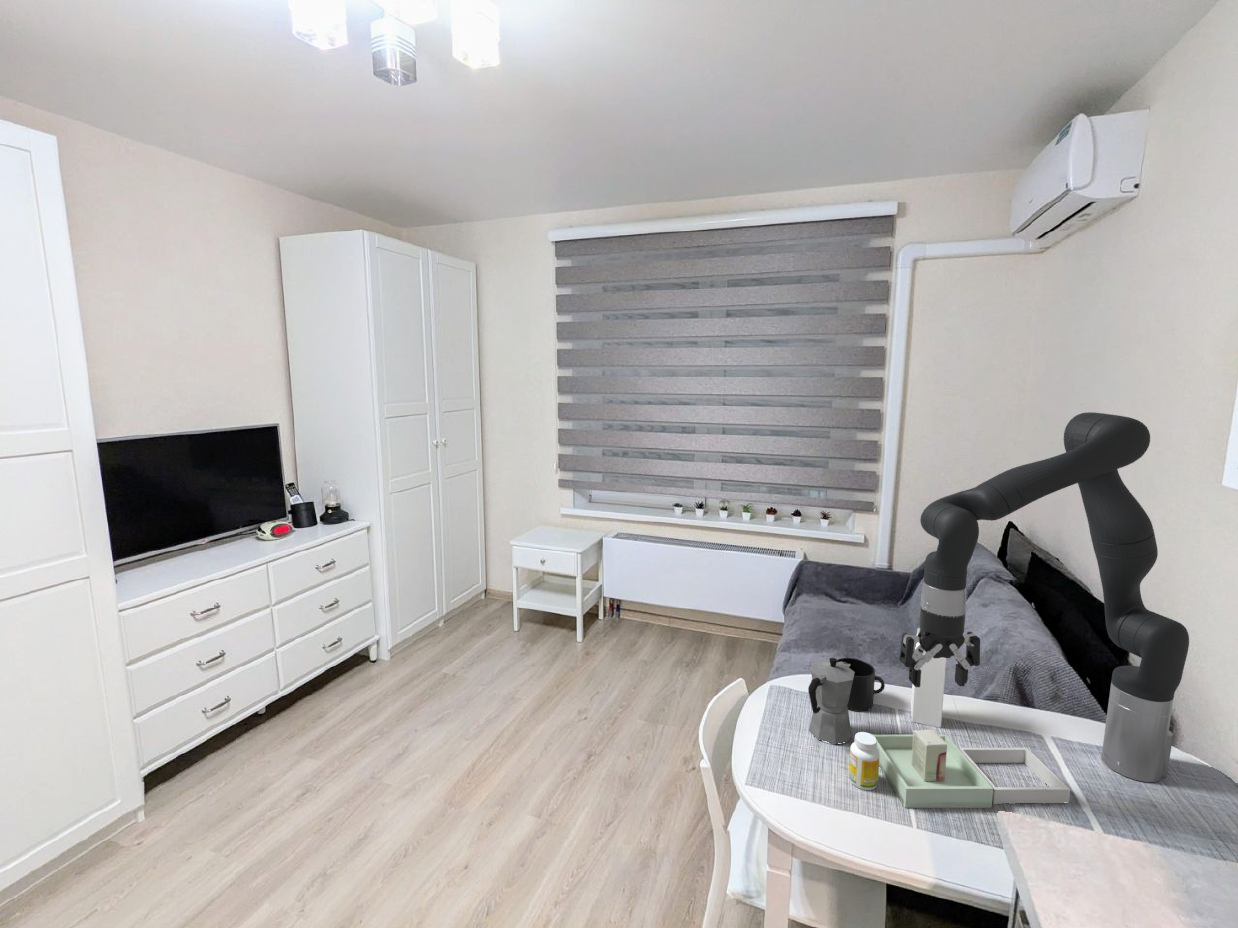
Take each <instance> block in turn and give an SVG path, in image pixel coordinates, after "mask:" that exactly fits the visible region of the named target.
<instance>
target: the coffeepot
mask: <svg viewBox="0 0 1238 928" xmlns="http://www.w3.org/2000/svg"><path fill="white" fill-rule="evenodd" d="M837 660H838V659H837V658H835V657H830V658H829V660H822V661H818V662H814V663H813V664H812V666H811V669H810V672H811V681H810V683H809V685H808V689H807V690H808V694H809V695H808V696H809V701H810V706H811V710H812V716H811V719H810V724H809V728H808V731H809V732H810V734H811V733H812V734H813V735H814V736H815V737H816V739H817V738H818V739H820V740H823V741H827V742H829V743H833V744H832V745H834V744H838V743H843V742H846V743H847V741H848V742H850V739H851V733H852V728H851V722H850V714H849V709H848V707H847V704H848V701H849V696H850V692H851V687H852V683H853V678H854V673H855V672H854V671H853V670H851V669H850V668H849V667H850V665H851V664H848V663H846V662H837ZM836 662H837V663H836ZM812 734H811V735H812ZM813 735H812V736H813ZM814 736H813V737H814ZM815 737H814V738H815ZM818 739H817V740H818ZM820 740H819V741H820Z"/></svg>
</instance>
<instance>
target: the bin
mask: <svg viewBox="0 0 1238 928" xmlns="http://www.w3.org/2000/svg"><path fill="white" fill-rule="evenodd" d="M872 735H873V736H874V737H875V738H876V739H877V749H878V750H879V753H880V758H879V767H880V768H881V769H880V768H879V769H880V771H881V770H882V771H881V772H882V774H883V773H884V774H883V776H884V777H885V779H886V780H887V782H888V783H889V785H890V786H891V789H892V790H893V791H894V793H895V794H896V796H897V798H898V800H899V801H900V802H901V804H902V805H903V808H904V809H991V808H992V805H993V803H992V797H993V788H992V787H991V785H990V784H989V783H988V782H987V781H986V780H985V779H984V777H983V776H982V775H981V774H980V773H979V772H978V771H977V769H976V768H975V767H974V766H973V765H972V764H971V763H970V761H969V760H968V759H967V758H966V757H965V756H964V755H963V753H962V752H961V751H960V750H959V749H958V748H959V747H957V745H956V744H955V743H954V742H953V741H952V739H950V738H949V737H950V736H948V735H947V734H938V735H939V736H940V737H941V738H942V739H943V740H944V741H945V743H946V744H947V753H946V768H945V780H938V781H924V780H923V779H922V778H921V776H920V775H919V774H918V773H917V771H916V770H915V769H914V768H913V766H912V765H911V762H912V747H913V734H872Z"/></svg>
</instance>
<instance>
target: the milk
mask: <svg viewBox="0 0 1238 928" xmlns="http://www.w3.org/2000/svg"><path fill="white" fill-rule="evenodd" d="M919 632H920V627H918V628H917V629H916V635H918V634H919ZM919 645H920V643H919V642H918V643H917V644H916V647H914V650H915V649H916V648H917V647H918V646H919ZM925 654H926V652H925V650H924V652H923V655H925ZM947 660H948V658H943V657H941V658H933V657H932V659H931V660H930V661H929V662H928V663H925V664H924V665H923V666H922V667H921V668H920V670H921V682H920V687H915V686H914V685H913V684H912V683H911V684H912V685H911V686H912V687H911V696H910V714H911V722H912V723H916V724H921V725H925V726H931V727H935V728H940V729H941V728H942V721H943V720H942V718H943V706H944V695H945V693H944V692H945V682H946V681H945V680H946V672H947Z"/></svg>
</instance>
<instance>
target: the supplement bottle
mask: <svg viewBox="0 0 1238 928" xmlns="http://www.w3.org/2000/svg"><path fill="white" fill-rule="evenodd" d="M873 735H874V734H872V733H869V732H866V731H860V732H859V731H858V732H857V733H855V735H854V741H853V742H852V744H851V745H850V749H849V762H848V763H849V764H848V780H849V782H850V783H851V784H852V785H853V786H854V787H855V788H858V789H860V790H864V791H865V790H866V791H872V790H875V789H877V786H878V782H879V770H880V768H879V758H880V753H879V750H878V749H877V739H876V738H875V737H874V736H873Z"/></svg>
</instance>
